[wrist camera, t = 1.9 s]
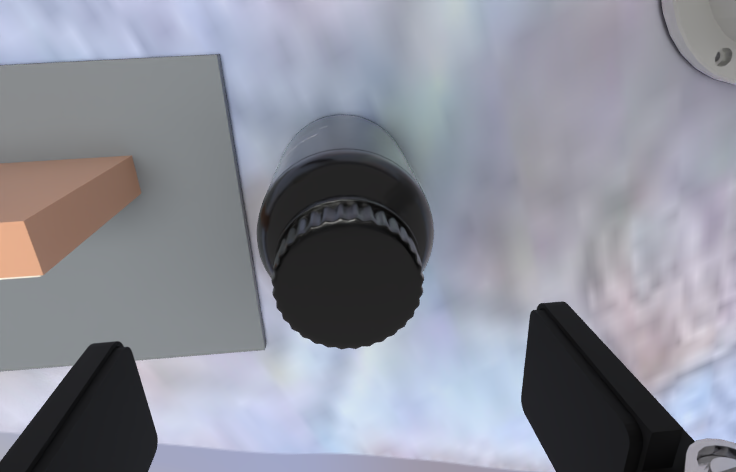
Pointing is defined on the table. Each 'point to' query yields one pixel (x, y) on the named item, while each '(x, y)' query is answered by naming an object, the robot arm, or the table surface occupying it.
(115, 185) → the tile
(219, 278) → the slate mat
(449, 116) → the table surface
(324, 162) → the supplement bottle
